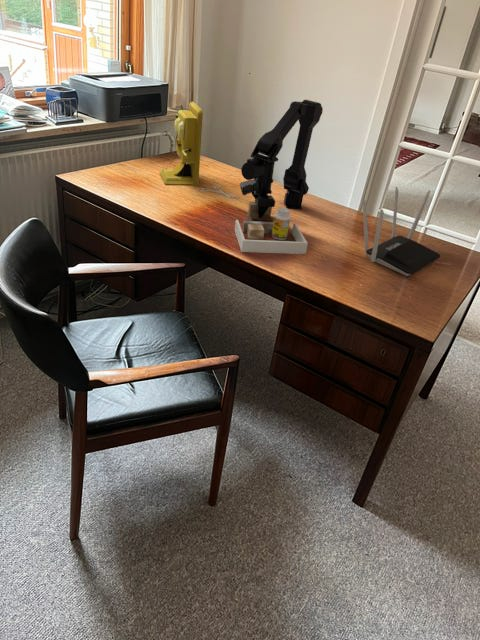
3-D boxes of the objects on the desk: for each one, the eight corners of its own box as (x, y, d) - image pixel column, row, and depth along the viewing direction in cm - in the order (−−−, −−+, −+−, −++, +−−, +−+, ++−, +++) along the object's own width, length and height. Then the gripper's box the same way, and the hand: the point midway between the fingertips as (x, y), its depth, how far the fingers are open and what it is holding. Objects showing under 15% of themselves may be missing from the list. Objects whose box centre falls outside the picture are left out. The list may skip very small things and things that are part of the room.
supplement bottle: (268, 234, 168) (273, 206, 162) (283, 233, 170) (287, 206, 164) (275, 241, 164) (279, 212, 158) (289, 240, 166) (294, 212, 160)
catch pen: (293, 232, 172) (295, 222, 169) (305, 254, 158) (307, 243, 156) (234, 230, 168) (235, 219, 165) (241, 251, 154) (242, 240, 152)
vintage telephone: (155, 166, 217) (156, 95, 201) (185, 167, 222) (188, 97, 205) (167, 190, 193) (169, 112, 176) (201, 190, 197) (206, 114, 181)
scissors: (213, 183, 206) (249, 197, 196) (213, 185, 206) (248, 198, 197) (196, 188, 199) (232, 202, 189) (196, 190, 199) (232, 204, 189)
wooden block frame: (278, 217, 183) (280, 203, 179) (287, 234, 170) (289, 219, 167) (237, 215, 180) (238, 200, 177) (243, 232, 167) (245, 217, 164)
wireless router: (400, 284, 147) (421, 224, 136) (339, 256, 160) (353, 198, 149) (445, 256, 169) (466, 202, 158) (388, 233, 181) (404, 181, 170)
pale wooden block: (260, 233, 168) (261, 224, 166) (263, 239, 164) (264, 230, 162) (246, 233, 167) (247, 223, 165) (248, 239, 163) (250, 229, 161)
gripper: (239, 164, 176) (234, 204, 185) (246, 182, 161) (241, 225, 170) (268, 166, 178) (262, 206, 187) (278, 184, 163) (271, 226, 172)
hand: (259, 215), depth 179 cm, fingers open, 4 cm apart
